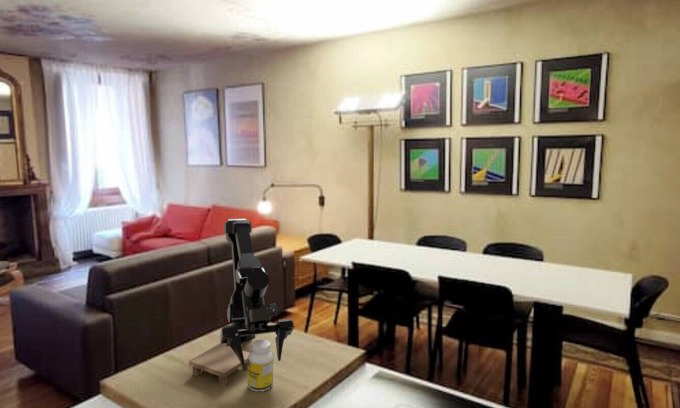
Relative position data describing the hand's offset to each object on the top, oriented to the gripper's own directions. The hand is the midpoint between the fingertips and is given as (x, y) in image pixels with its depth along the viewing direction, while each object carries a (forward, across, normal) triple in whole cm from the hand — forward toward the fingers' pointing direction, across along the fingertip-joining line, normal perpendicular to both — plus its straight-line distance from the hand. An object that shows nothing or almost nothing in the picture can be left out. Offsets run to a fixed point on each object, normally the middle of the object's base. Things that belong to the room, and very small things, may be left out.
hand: (261, 363), depth 114 cm
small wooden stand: (-3, -8, +13) cm, 16 cm away
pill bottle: (+4, 0, +6) cm, 7 cm away
